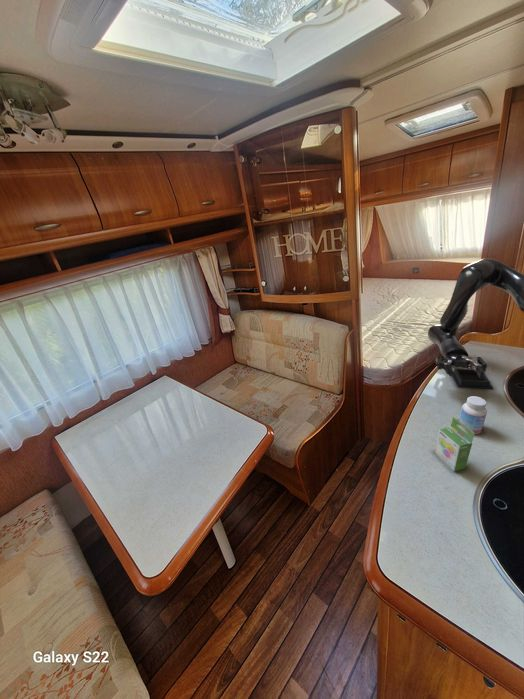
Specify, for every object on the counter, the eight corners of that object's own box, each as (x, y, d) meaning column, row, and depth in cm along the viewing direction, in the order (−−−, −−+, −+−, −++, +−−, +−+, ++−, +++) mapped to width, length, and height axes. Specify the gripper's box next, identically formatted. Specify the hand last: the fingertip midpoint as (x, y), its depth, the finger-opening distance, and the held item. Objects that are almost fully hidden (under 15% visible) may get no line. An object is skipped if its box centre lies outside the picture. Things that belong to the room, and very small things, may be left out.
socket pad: (481, 374, 111) (483, 368, 110) (492, 390, 102) (494, 383, 100) (450, 373, 115) (451, 367, 113) (457, 388, 105) (459, 382, 104)
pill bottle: (476, 438, 84) (484, 409, 79) (454, 428, 88) (460, 400, 83) (484, 428, 87) (492, 400, 82) (462, 419, 91) (469, 392, 86)
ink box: (434, 453, 81) (440, 419, 75) (446, 450, 81) (453, 416, 75) (453, 472, 75) (462, 437, 69) (465, 469, 75) (475, 433, 69)
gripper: (432, 342, 105) (443, 363, 91) (477, 343, 100) (495, 365, 87) (430, 359, 108) (440, 382, 95) (472, 360, 103) (489, 384, 90)
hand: (466, 374), depth 91 cm, fingers open, 8 cm apart
